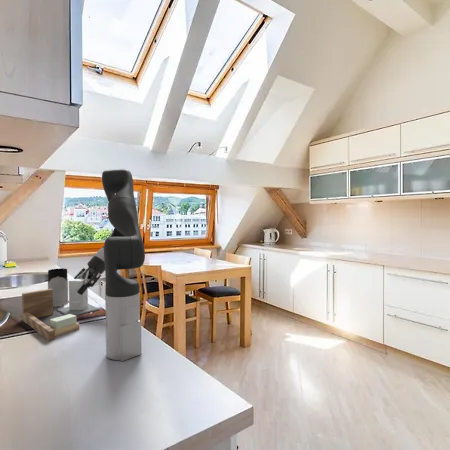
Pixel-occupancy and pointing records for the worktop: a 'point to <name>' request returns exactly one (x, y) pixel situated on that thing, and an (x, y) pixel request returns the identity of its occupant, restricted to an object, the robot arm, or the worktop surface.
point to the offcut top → (63, 321)
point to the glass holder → (58, 286)
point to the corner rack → (38, 311)
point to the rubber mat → (77, 312)
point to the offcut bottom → (66, 329)
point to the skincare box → (77, 295)
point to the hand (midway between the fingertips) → (74, 291)
